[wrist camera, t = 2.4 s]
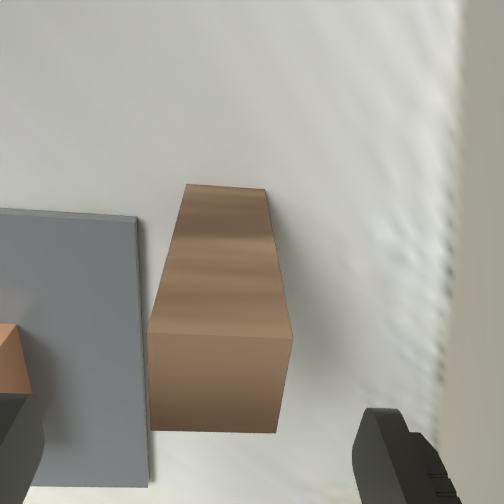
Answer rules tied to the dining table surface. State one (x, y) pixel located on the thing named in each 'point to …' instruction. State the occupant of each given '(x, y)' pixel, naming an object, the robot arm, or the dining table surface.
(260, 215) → the walnut peg
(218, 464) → the dining table surface
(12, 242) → the socket holder
